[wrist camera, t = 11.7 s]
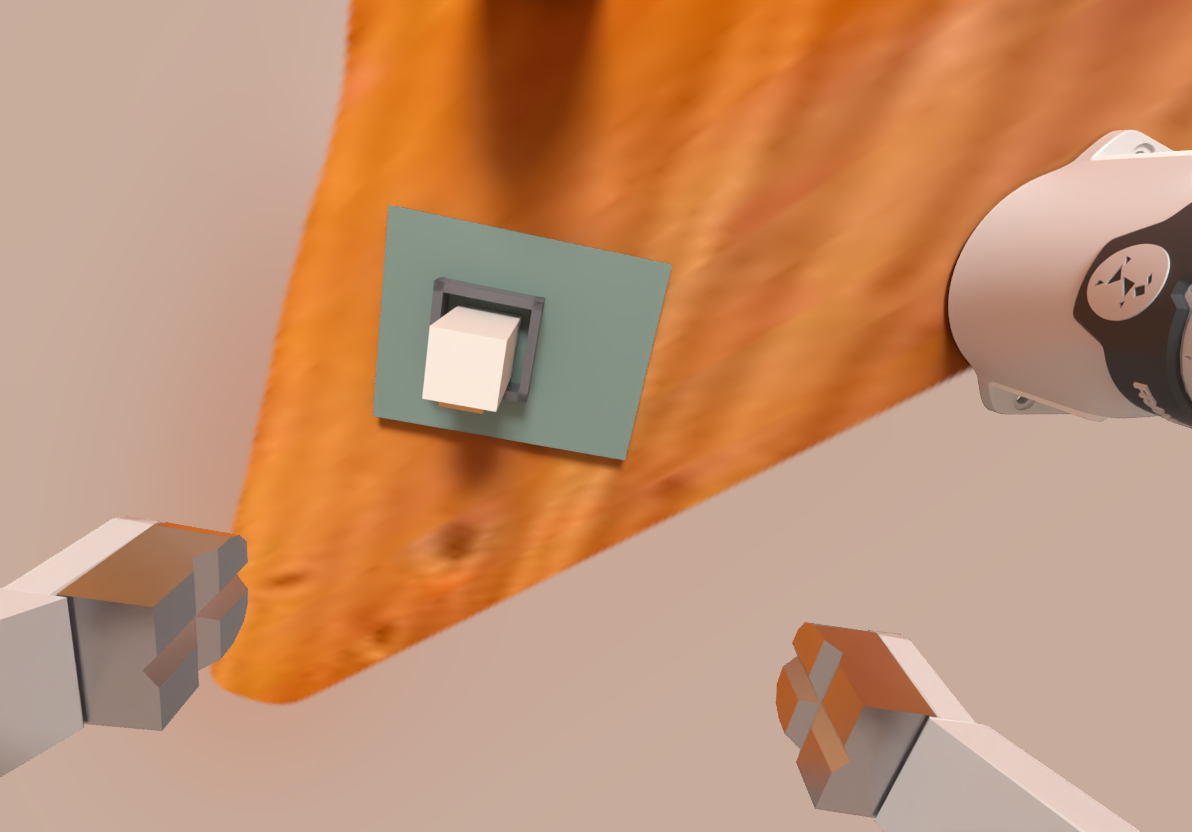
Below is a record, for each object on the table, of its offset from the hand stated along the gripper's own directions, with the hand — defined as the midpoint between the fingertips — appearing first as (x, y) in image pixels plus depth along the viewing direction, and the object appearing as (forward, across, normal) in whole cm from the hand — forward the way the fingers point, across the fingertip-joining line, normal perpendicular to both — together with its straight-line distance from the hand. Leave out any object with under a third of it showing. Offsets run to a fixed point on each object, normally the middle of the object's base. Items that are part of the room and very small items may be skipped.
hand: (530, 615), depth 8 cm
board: (+31, +3, +3) cm, 31 cm away
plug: (+30, +5, +3) cm, 30 cm away
